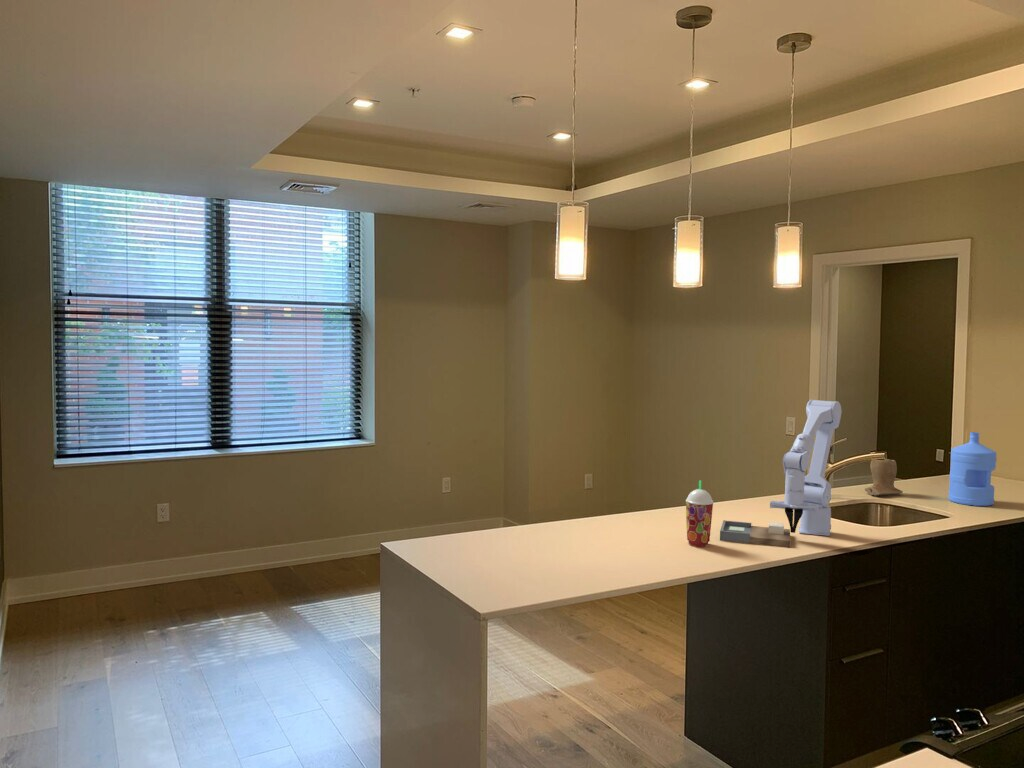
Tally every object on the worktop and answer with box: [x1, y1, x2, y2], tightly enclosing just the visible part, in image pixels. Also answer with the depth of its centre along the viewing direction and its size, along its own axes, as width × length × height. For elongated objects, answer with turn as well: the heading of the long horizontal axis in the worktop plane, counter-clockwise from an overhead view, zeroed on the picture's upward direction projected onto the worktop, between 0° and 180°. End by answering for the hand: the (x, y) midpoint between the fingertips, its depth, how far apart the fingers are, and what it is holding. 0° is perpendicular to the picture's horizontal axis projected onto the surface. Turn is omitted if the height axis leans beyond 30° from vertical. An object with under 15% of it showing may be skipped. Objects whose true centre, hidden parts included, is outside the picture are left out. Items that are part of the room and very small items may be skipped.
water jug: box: [948, 431, 997, 507], centre depth 307 cm, size 16×16×28 cm
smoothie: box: [685, 479, 714, 548], centre depth 239 cm, size 8×8×20 cm
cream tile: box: [768, 522, 785, 535], centre depth 248 cm, size 4×4×2 cm
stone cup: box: [864, 458, 903, 497], centre depth 320 cm, size 15×12×15 cm
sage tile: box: [729, 526, 744, 533], centre depth 247 cm, size 4×4×2 cm
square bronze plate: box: [749, 525, 792, 548], centre depth 247 cm, size 12×15×2 cm
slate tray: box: [719, 520, 752, 544], centre depth 250 cm, size 9×15×3 cm, turn 161°
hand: (792, 531), depth 246 cm, fingers closed
